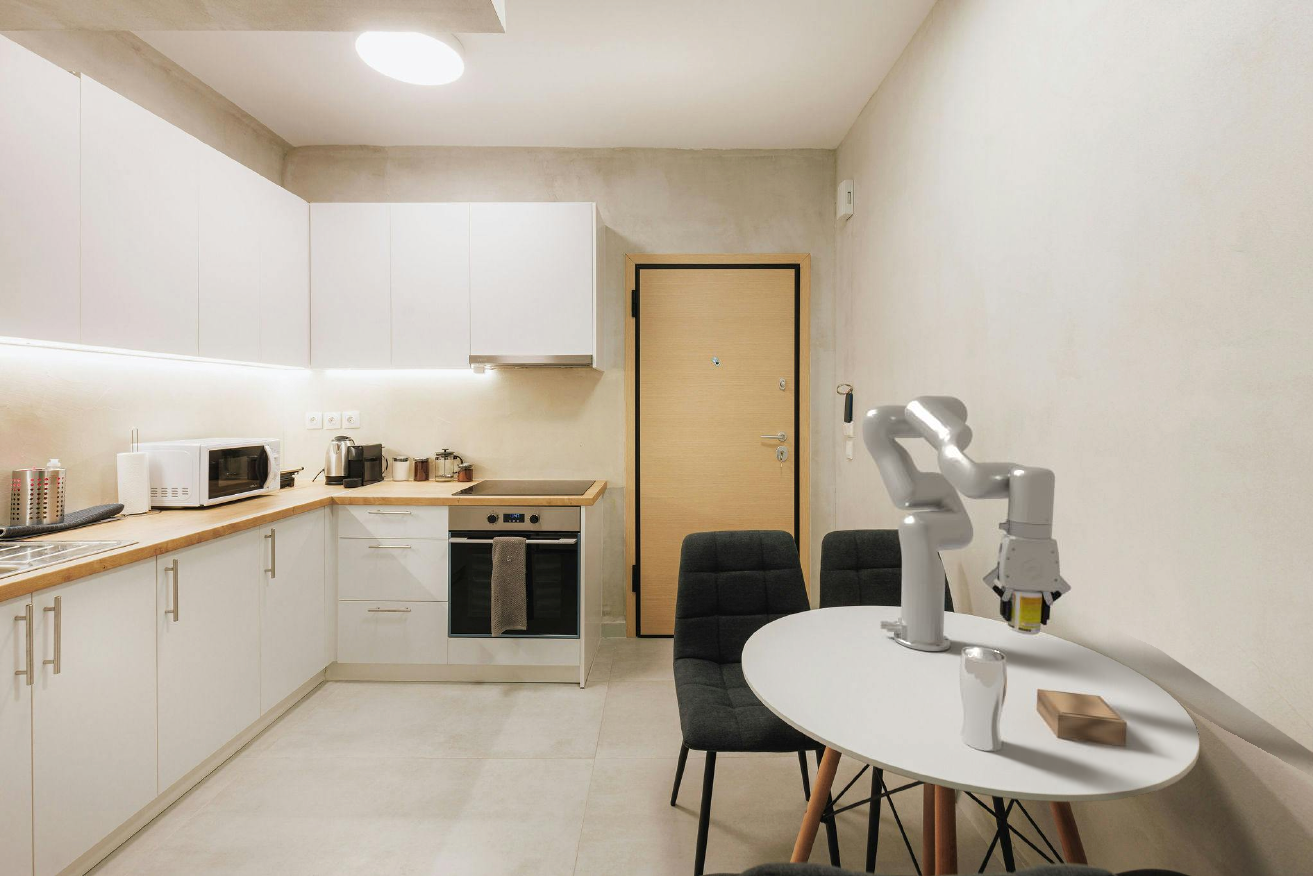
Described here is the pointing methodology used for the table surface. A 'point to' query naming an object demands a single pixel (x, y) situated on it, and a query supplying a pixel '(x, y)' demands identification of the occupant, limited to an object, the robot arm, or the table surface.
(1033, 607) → the supplement bottle
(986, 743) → the beer glass
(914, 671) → the table surface
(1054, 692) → the base
